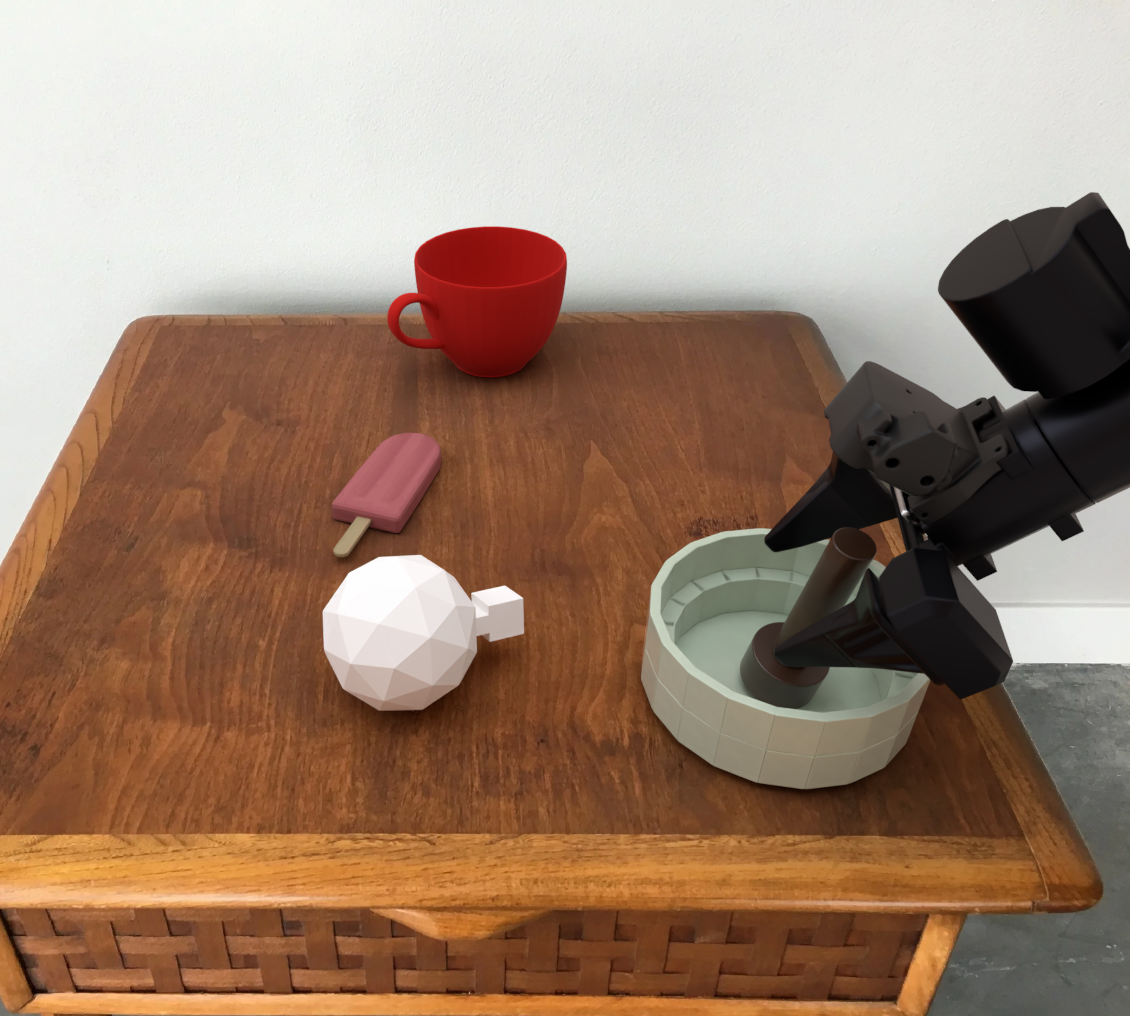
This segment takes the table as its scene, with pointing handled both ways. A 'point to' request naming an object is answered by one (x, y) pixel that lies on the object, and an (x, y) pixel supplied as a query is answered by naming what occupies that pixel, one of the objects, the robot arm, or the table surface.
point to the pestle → (806, 622)
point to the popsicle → (386, 487)
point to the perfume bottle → (410, 630)
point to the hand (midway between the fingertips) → (772, 598)
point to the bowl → (715, 688)
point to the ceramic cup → (486, 297)
